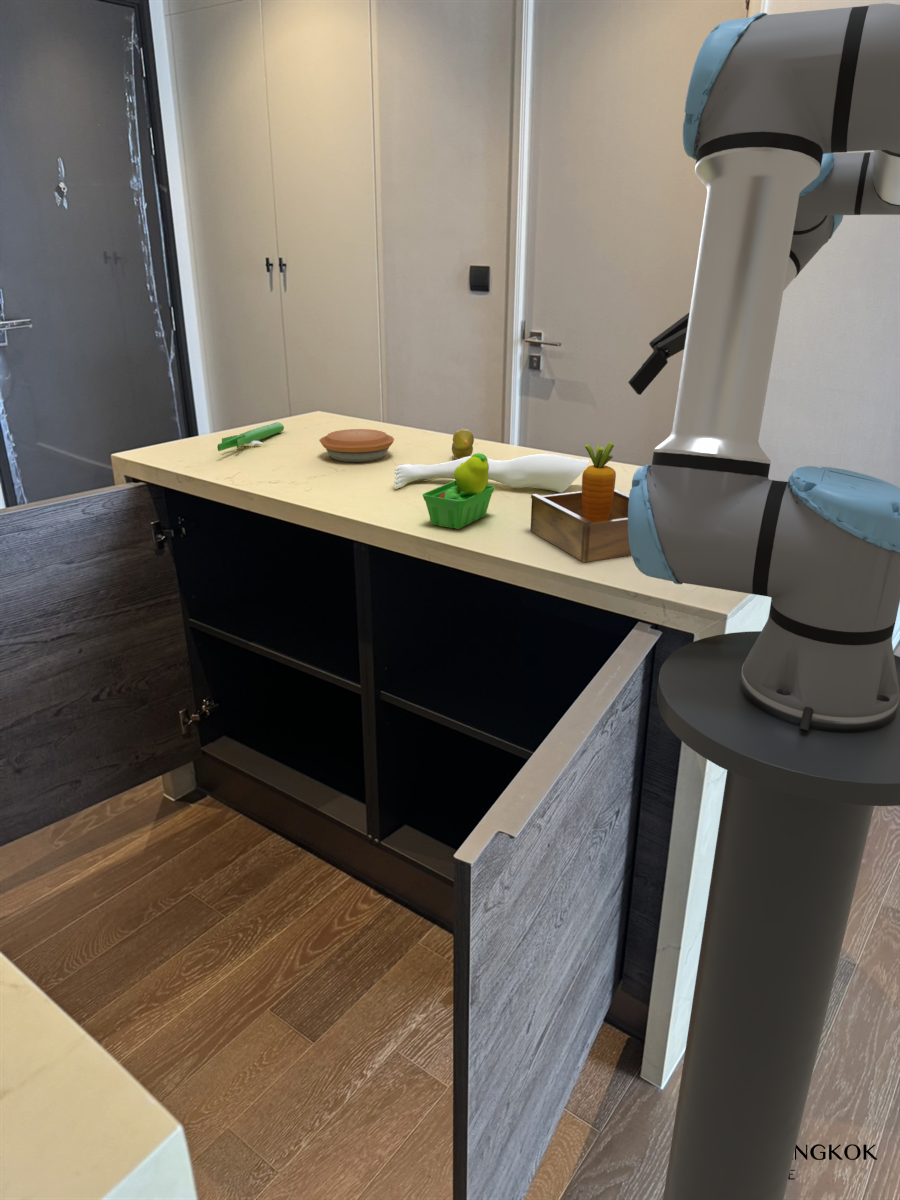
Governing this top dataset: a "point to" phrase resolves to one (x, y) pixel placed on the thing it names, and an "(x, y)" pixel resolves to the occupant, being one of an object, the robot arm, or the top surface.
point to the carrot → (598, 485)
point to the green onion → (250, 436)
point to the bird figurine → (462, 443)
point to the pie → (357, 445)
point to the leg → (505, 471)
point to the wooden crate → (581, 526)
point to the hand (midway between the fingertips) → (660, 395)
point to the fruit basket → (461, 495)
